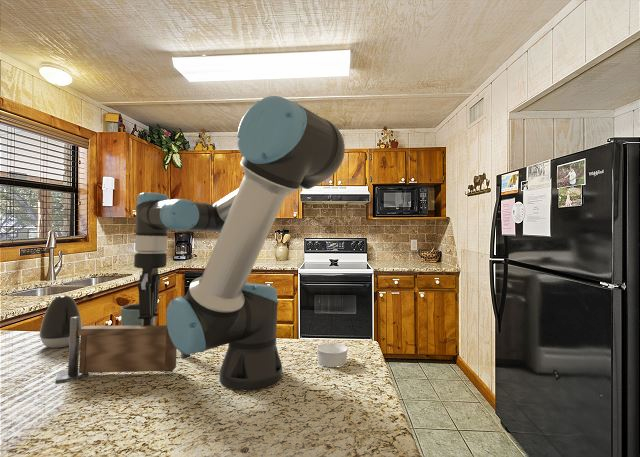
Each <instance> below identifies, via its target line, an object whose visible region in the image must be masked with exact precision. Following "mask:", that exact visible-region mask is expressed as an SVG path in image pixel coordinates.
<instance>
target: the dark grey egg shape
mask: <svg viewBox="0 0 640 457" xmlns="http://www.w3.org/2000/svg"><path fill="white" fill-rule="evenodd" d="M77 316H80V317H81V314H80V311H79V307H78V304H77V302H76V301H75V300H74V299H73V297H72V296H69V295H64V294H63V295H56V296H55V298H54V299H53V300H52V301H50V304H49V305H48V306H47V309H46V311H45V313H44V316H43V319H42V322H41V326H40V330H39V338H40V340H41V342H42V344H43V345H44V346H45V347H47V348H51V349H60V348H65V347H69V339H70V319H71V317H77ZM81 327H83V325H82V321H81V322H80V328H81Z"/></svg>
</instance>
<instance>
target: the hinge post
mask: <svg viewBox="0 0 640 457" xmlns="http://www.w3.org/2000/svg"><path fill="white" fill-rule="evenodd" d="M81 317H82V316H81V315H80V316H77V317H71V319H70V339H69V346H68V364H67V369H63V370H58V372H57V376H56V378H55V382H54V383H55V384H58V383H63V382H68V381H74V380H81V379H86V378H87V379H88V377H89V376H88V375H89V373H79V361H80V340H81V336H78V329H79V328H80V322H81V323H82V318H81Z"/></svg>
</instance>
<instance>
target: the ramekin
mask: <svg viewBox="0 0 640 457" xmlns="http://www.w3.org/2000/svg"><path fill="white" fill-rule="evenodd" d="M348 351H349V348H348V347H347V345H344V344H342V343H337V342H326V343H325V342H324V343H320V344H318V345H317V346H316V354H317V355H316V356H317V362H318V364H319V365H320V364H321V365H323V366H322V367H324V366H328V367H337V366H341V365H344V364H345V363H346V364H347V358H348V357H347V356H348ZM346 364H345V365H346ZM321 365H320V366H321ZM345 365H344V366H345ZM328 367H327V368H328Z"/></svg>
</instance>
